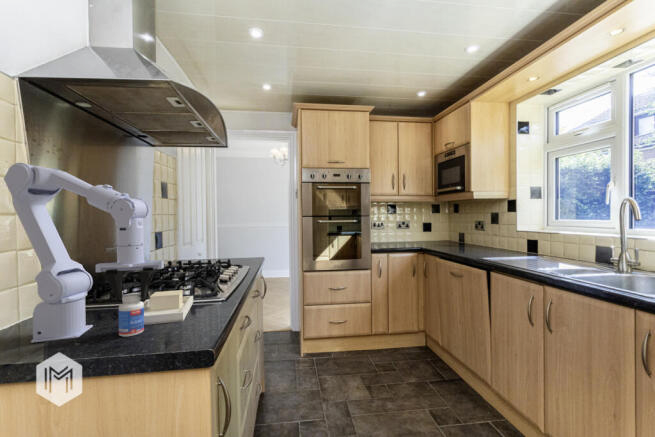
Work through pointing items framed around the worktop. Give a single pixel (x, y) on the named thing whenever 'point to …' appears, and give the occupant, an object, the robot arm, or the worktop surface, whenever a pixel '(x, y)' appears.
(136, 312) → the pill bottle
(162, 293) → the egg box
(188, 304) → the white tray
